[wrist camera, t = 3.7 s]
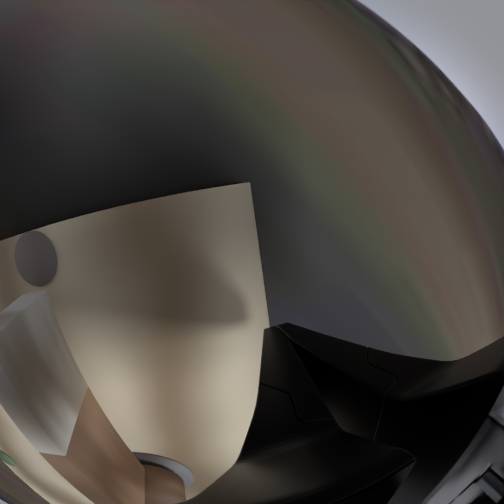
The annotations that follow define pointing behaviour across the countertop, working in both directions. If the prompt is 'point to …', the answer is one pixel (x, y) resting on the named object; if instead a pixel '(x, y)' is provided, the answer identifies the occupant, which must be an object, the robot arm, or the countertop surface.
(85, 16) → the countertop surface
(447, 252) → the countertop surface
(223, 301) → the board
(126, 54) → the countertop surface
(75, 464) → the peg
